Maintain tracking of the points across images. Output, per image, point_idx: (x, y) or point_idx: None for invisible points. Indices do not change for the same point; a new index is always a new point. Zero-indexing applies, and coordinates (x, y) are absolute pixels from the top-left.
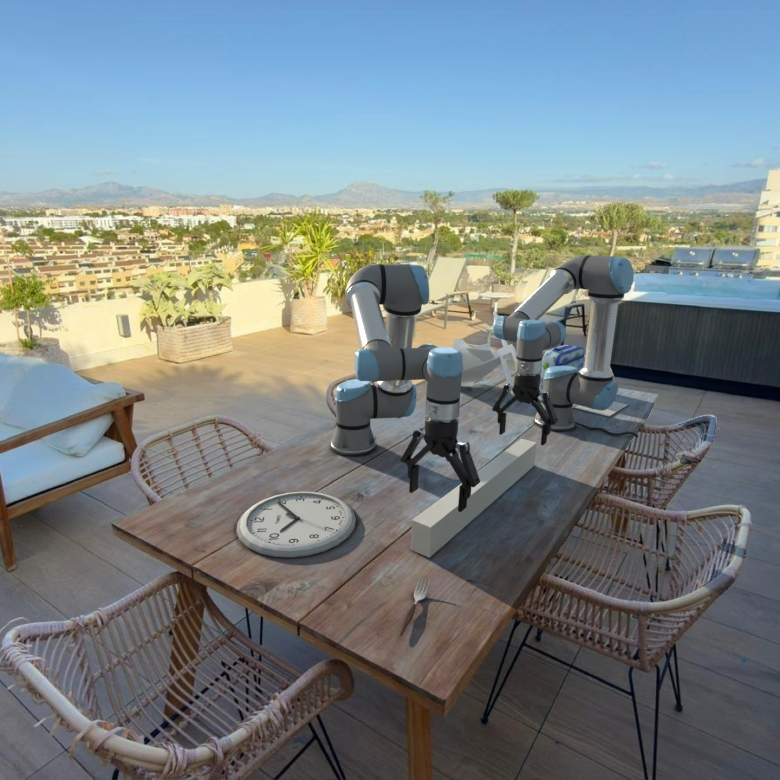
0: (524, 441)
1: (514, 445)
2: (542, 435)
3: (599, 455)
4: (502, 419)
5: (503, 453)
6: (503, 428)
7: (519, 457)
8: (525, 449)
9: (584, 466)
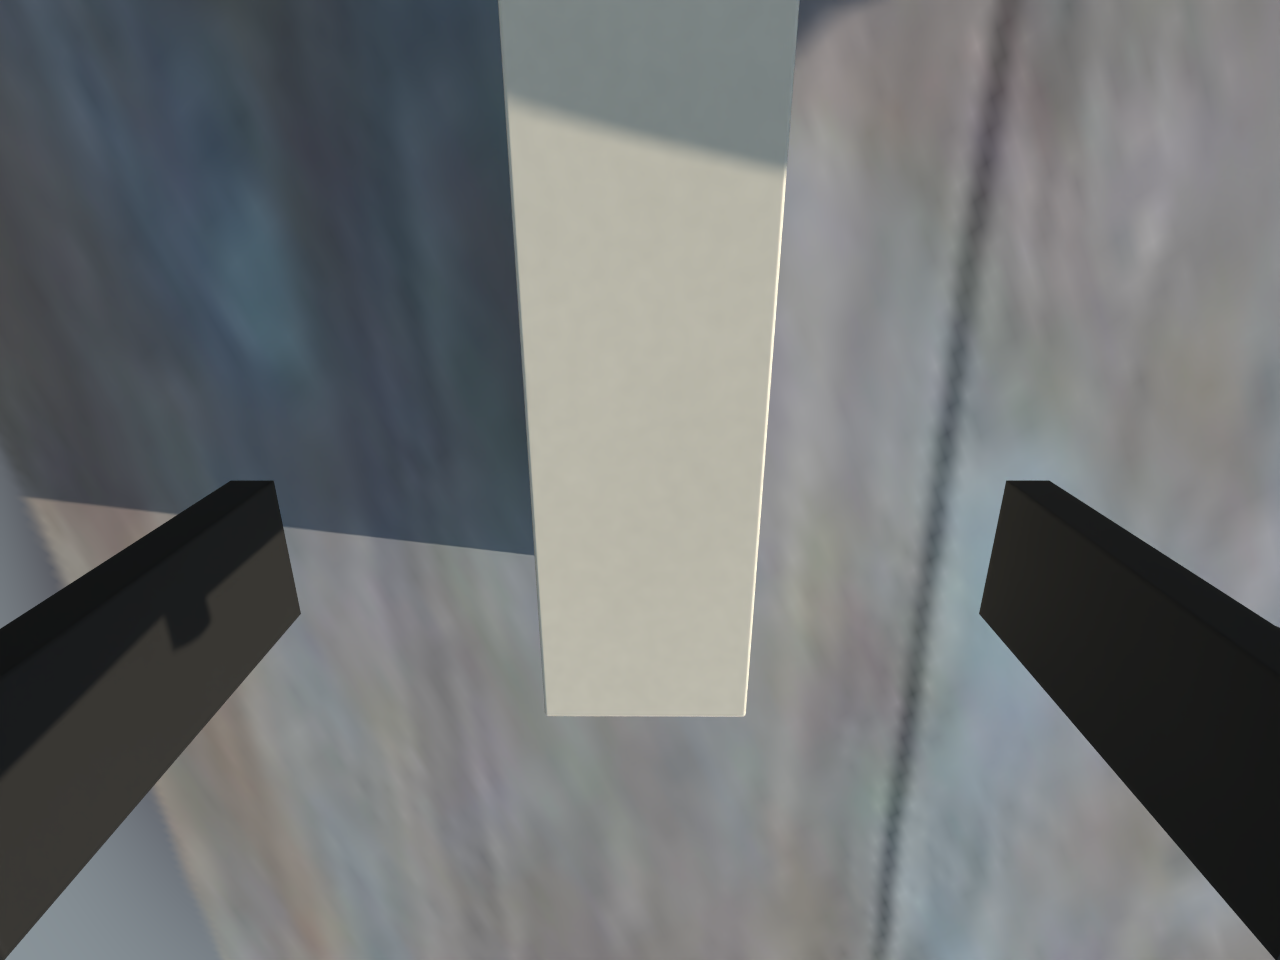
0: (681, 661)
1: (739, 472)
2: (132, 565)
3: (302, 950)
4: (1249, 662)
5: (769, 62)
6: (1044, 598)
7: (508, 129)
8: (558, 440)
9: (279, 764)
